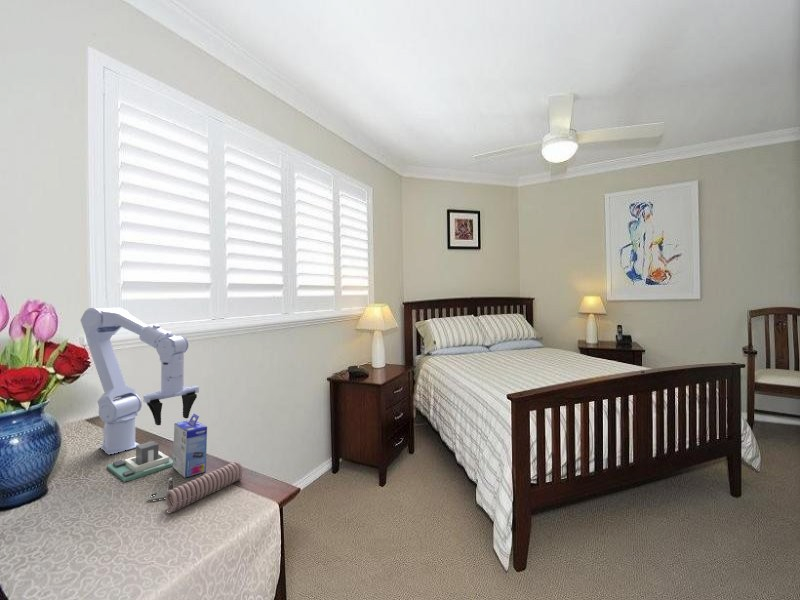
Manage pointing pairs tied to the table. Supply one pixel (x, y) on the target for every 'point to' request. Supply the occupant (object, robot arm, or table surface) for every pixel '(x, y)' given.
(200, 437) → the ink cartridge box
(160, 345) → the robot arm
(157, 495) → the strap clip
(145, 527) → the table surface
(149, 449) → the plug
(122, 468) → the board
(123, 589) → the table surface
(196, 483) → the coil
